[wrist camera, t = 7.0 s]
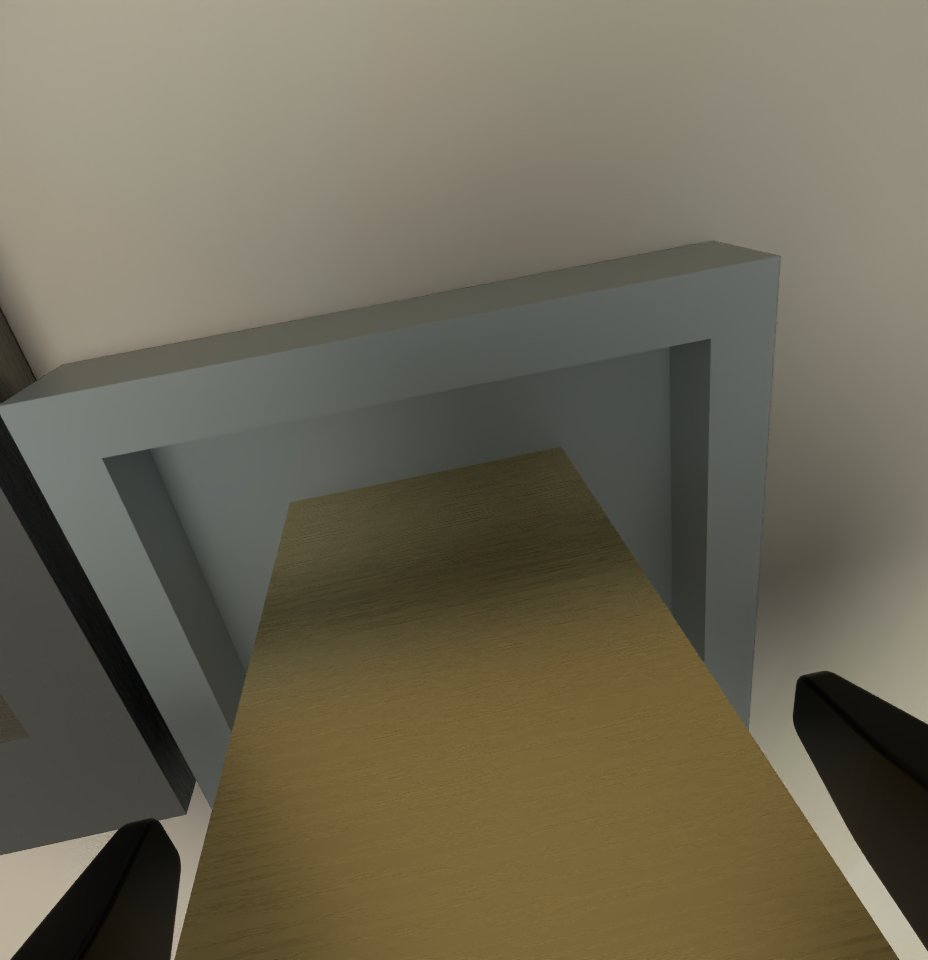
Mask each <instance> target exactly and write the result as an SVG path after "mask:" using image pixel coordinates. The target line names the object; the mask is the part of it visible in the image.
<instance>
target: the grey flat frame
mask: <svg viewBox="0 0 928 960" xmlns="http://www.w3.org/2000/svg"><path fill="white" fill-rule="evenodd" d="M34 382H36V381H35V379H34V377H33V375H32V373H31V371H30V369H29V367H28V365H27V363H26V361H25V359H24V357H23V355H22V353H21V351H20V349H19V347H18V345H17V342H16V340H15V338H14V336H13V334H12V332H11V330H10V328H9V326H8V324H7V322H6V320H5V318H4V316H3V314H2V312H1V310H0V404H1V403H3V402H4V401H6V400H8V399H9V398H11V397H12V396H14V395H15V394H17V393H19V392H20V391H22V390H23V389H25V388H26V387H28V386H29V385H31V384H33V383H34ZM195 783H196V779H195V777H194V775H193V773H192V771H191V769H190V767H189V766H188V764H187V762H186V760H185V758H184V756H183V754H182V752H181V751H180V749H179V747H178V745H177V743H176V741H175V739H174V738H173V736H172V734H171V732H170V730H169V728H168V726H167V724H166V723H165V721H164V719H163V717H162V715H161V713H160V711H159V710H158V708H157V706H156V704H155V702H154V700H153V698H152V697H151V695H150V693H149V691H148V689H147V687H146V685H145V683H144V682H143V680H142V678H141V676H140V674H139V672H138V670H137V669H136V667H135V665H134V663H133V661H132V659H131V657H130V656H129V654H128V652H127V650H126V648H125V646H124V644H123V642H122V641H121V639H120V637H119V635H118V633H117V631H116V629H115V628H114V626H113V624H112V622H111V620H110V618H109V616H108V614H107V613H106V611H105V609H104V607H103V605H102V603H101V601H100V600H99V598H98V596H97V594H96V592H95V590H94V588H93V587H92V585H91V583H90V581H89V579H88V577H87V575H86V573H85V572H84V570H83V568H82V566H81V564H80V562H79V560H78V559H77V557H76V555H75V553H74V551H73V549H72V547H71V545H70V544H69V542H68V540H67V538H66V536H65V534H64V532H63V531H62V529H61V527H60V525H59V523H58V521H57V519H56V518H55V516H54V514H53V512H52V510H51V508H50V506H49V504H48V503H47V501H46V499H45V497H44V495H43V493H42V491H41V490H40V488H39V486H38V484H37V482H36V480H35V478H34V477H33V475H32V473H31V471H30V469H29V467H28V465H27V463H26V462H25V460H24V458H23V456H22V454H21V452H20V450H19V449H18V447H17V445H16V443H15V441H14V439H13V437H12V435H11V434H10V432H9V430H8V428H7V426H6V424H5V422H4V421H3V419H2V417H1V415H0V855H3V854H8V853H13V852H17V851H22V850H26V849H31V848H35V847H40V846H44V845H49V844H54V843H58V842H63V841H67V840H72V839H76V838H81V837H86V836H90V835H95V834H99V833H104V832H108V831H113V830H117V829H120V828H121V827H122V826H124V825H125V824H127V823H130V822H135V821H140V820H144V819H149V818H154V819H156V820H163V819H168V818H172V817H177V816H181V815H186V814H187V810H188V807H189V803H190V800H191V797H192V793H193V790H194V786H195Z"/></svg>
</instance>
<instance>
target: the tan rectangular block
mask: <svg viewBox="0 0 928 960" xmlns="http://www.w3.org/2000/svg"><path fill="white" fill-rule="evenodd" d="M174 960H899V958H898V957H897V955H896V954H895V952H894V951H893V949H892V948H891V946H890V945H889V943H888V942H887V940H886V939H885V937H884V936H883V934H882V933H881V931H880V930H879V928H878V927H877V925H876V924H875V922H874V920H873V919H872V917H871V916H870V914H869V913H868V911H867V910H866V908H865V907H864V905H863V904H862V902H861V901H860V899H859V898H858V896H857V895H856V893H855V892H854V890H853V889H852V887H851V886H850V884H849V883H848V881H847V880H846V878H845V876H844V875H843V873H842V872H841V870H840V869H839V867H838V866H837V864H836V863H835V861H834V860H833V858H832V857H831V855H830V854H829V852H828V851H827V849H826V848H825V846H824V845H823V843H822V842H821V840H820V839H819V837H818V836H817V834H816V832H815V831H814V829H813V828H812V826H811V825H810V823H809V822H808V820H807V819H806V817H805V816H804V814H803V813H802V811H801V810H800V808H799V807H798V805H797V804H796V802H795V801H794V799H793V798H792V796H791V795H790V793H789V792H788V790H787V788H786V787H785V785H784V784H783V782H782V781H781V779H780V778H779V776H778V775H777V773H776V772H775V770H774V769H773V767H772V766H771V764H770V763H769V761H768V760H767V758H766V757H765V755H764V754H763V752H762V751H761V749H760V748H759V746H758V744H757V743H756V741H755V740H754V738H753V737H752V735H751V734H750V732H749V731H748V729H747V728H746V726H745V725H744V723H743V722H742V720H741V719H740V717H739V716H738V714H737V713H736V711H735V710H734V708H733V707H732V705H731V704H730V702H729V700H728V699H727V697H726V696H725V694H724V693H723V691H722V690H721V688H720V687H719V685H718V684H717V682H716V681H715V679H714V678H713V676H712V675H711V673H710V672H709V670H708V669H707V667H706V666H705V664H704V663H703V661H702V660H701V658H700V656H699V655H698V653H697V652H696V650H695V649H694V647H693V646H692V644H691V643H690V641H689V640H688V638H687V637H686V635H685V634H684V632H683V631H682V629H681V628H680V626H679V625H678V623H677V622H676V620H675V619H674V617H673V616H672V614H671V612H670V611H669V609H668V608H667V606H666V605H665V603H664V602H663V600H662V599H661V597H660V596H659V594H658V593H657V591H656V590H655V588H654V587H653V585H652V584H651V582H650V581H649V579H648V578H647V576H646V575H645V573H644V572H643V570H642V568H641V567H640V565H639V564H638V562H637V561H636V559H635V558H634V556H633V555H632V553H631V552H630V550H629V549H628V547H627V546H626V544H625V543H624V541H623V540H622V538H621V537H620V535H619V534H618V532H617V531H616V529H615V528H614V526H613V524H612V523H611V521H610V520H609V518H608V517H607V515H606V514H605V512H604V511H603V509H602V508H601V506H600V505H599V503H598V502H597V500H596V499H595V497H594V496H593V494H592V493H591V491H590V490H589V488H588V487H587V485H586V484H585V482H584V480H583V479H582V477H581V476H580V474H579V473H578V471H577V470H576V468H575V467H574V465H573V464H572V462H571V461H570V459H569V458H568V456H567V455H566V453H565V452H564V450H563V449H562V447H557V448H553V449H548V450H543V451H538V452H533V453H528V454H523V455H519V456H514V457H509V458H504V459H499V460H494V461H489V462H485V463H480V464H475V465H470V466H465V467H460V468H455V469H451V470H446V471H441V472H436V473H431V474H426V475H422V476H417V477H412V478H407V479H402V480H397V481H392V482H388V483H383V484H378V485H373V486H368V487H363V488H358V489H354V490H349V491H344V492H339V493H334V494H329V495H324V496H320V497H315V498H310V499H305V500H300V501H295V502H290V504H289V508H288V512H287V516H286V520H285V524H284V528H283V532H282V536H281V540H280V544H279V548H278V552H277V556H276V560H275V563H274V567H273V571H272V575H271V579H270V583H269V587H268V591H267V595H266V599H265V603H264V607H263V611H262V615H261V619H260V623H259V627H258V631H257V635H256V639H255V643H254V647H253V651H252V655H251V658H250V662H249V666H248V670H247V674H246V678H245V682H244V686H243V690H242V694H241V698H240V702H239V706H238V710H237V714H236V718H235V722H234V726H233V730H232V734H231V738H230V742H229V746H228V750H227V754H226V757H225V761H224V765H223V769H222V773H221V777H220V781H219V785H218V789H217V793H216V797H215V801H214V805H213V809H212V813H211V817H210V821H209V825H208V829H207V833H206V837H205V841H204V845H203V849H202V853H201V856H200V860H199V864H198V868H197V872H196V876H195V880H194V884H193V888H192V892H191V896H190V900H189V904H188V908H187V912H186V916H185V920H184V924H183V928H182V932H181V936H180V940H179V944H178V948H177V952H176V955H175V959H174Z"/></svg>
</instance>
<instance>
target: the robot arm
mask: <svg viewBox="0 0 928 960" xmlns="http://www.w3.org/2000/svg"><path fill="white" fill-rule="evenodd" d="M793 722H794V726H795V729H796V732H797V734H798V736H799V738H800V740H801V742H802V744H803V745H804V747H805V749H806V751H807V753H808V755H809V757H810V759H811V760H812V762H813V764H814V766H815V768H816V770H817V772H818V773H819V775H820V777H821V779H822V781H823V783H824V785H825V787H826V788H827V790H828V792H829V794H830V796H831V798H832V800H833V802H834V803H835V805H836V807H837V809H838V811H839V813H840V815H841V816H842V818H843V820H844V822H845V824H846V826H847V827H848V829H849V831H850V833H851V835H852V836H853V838H854V840H855V842H856V843H857V845H858V846H859V848H860V849H861V851H862V853H863V854H864V856H865V857H866V859H867V860H868V862H869V864H870V865H871V867H872V868H873V870H874V871H875V873H876V874H877V876H878V877H879V879H880V880H881V882H882V883H883V885H884V886H885V888H886V889H887V891H888V892H889V894H890V895H891V897H892V898H893V900H894V901H895V903H896V904H897V906H898V907H899V909H900V910H901V912H902V913H903V915H904V916H905V918H906V919H907V921H908V922H909V924H910V925H911V927H912V928H913V930H914V931H915V933H916V934H917V936H918V937H919V939H920V940H921V942H922V943H923V945H924V946H925V948H926V949H927V951H928V724H926V723H925V722H923V721H921V720H919V719H917V718H915V717H914V716H912V715H910V714H908V713H906V712H904V711H903V710H901V709H899V708H897V707H895V706H893V705H892V704H890V703H888V702H886V701H884V700H882V699H881V698H879V697H877V696H875V695H873V694H871V693H870V692H868V691H866V690H864V689H862V688H860V687H859V686H857V685H855V684H853V683H851V682H849V681H848V680H846V679H844V678H842V677H840V676H838V675H837V674H834V673H832V672H829V671H821V672H816V673H811V674H807V675H803V676H801V677H800V678H799V679H798V680H797V684H796V692H795V701H794V710H793ZM180 873H181V862H180V857H179V854H178V851H177V849H176V848H175V846H174V845H173V843H172V841H171V840H170V838H169V836H168V835H167V833H166V831H165V830H164V828H163V826H162V825H161V823H160V822H159V821H158V820H156V819H154V818H149V819H144V820H140V821H135V822H130V823H127V824H125V825H124V826H122V827H121V828H120V829H119V830H118V831H117V832H116V833H115V834H114V835H113V837H112V838H111V839H110V840H109V841H108V843H107V844H106V845H105V846H104V848H103V849H102V850H101V851H100V852H99V854H98V855H97V856H96V857H95V858H94V860H93V861H92V862H91V863H90V864H89V866H88V867H87V868H86V869H85V870H84V872H83V873H82V874H81V875H80V876H79V878H78V879H77V880H76V881H75V882H74V884H73V885H72V886H71V887H70V888H69V890H68V891H67V892H66V893H65V895H64V896H63V897H62V898H61V899H60V901H59V902H58V903H57V904H56V905H55V907H54V908H53V909H52V910H51V911H50V913H49V914H48V915H47V916H46V917H45V919H44V920H43V921H42V922H41V923H40V925H39V926H38V927H37V928H36V929H35V931H34V932H33V933H32V934H31V936H30V937H29V938H28V939H27V940H26V942H25V943H24V944H23V945H22V946H21V948H20V949H19V950H18V951H17V952H16V954H15V955H14V956H13V957H12V958H11V960H170V959H171V950H172V942H173V933H174V925H175V916H176V907H177V899H178V890H179V882H180Z"/></svg>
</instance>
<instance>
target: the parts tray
mask: <svg viewBox="0 0 928 960" xmlns="http://www.w3.org/2000/svg"><path fill="white" fill-rule="evenodd" d="M780 258H781V256H778V255H774V254H770V253H765V252H761V251H756V250H752V249H747V248H743V247H739V246H734V245H730V244H725V243H721V242H716V241H710V242H705V243H700V244H694V245H689V246H684V247H679V248H673V249H668V250H663V251H658V252H652V253H647V254H642V255H637V256H631V257H626V258H621V259H616V260H610V261H605V262H600V263H595V264H589V265H584V266H579V267H574V268H568V269H563V270H558V271H553V272H547V273H542V274H537V275H532V276H526V277H521V278H516V279H511V280H505V281H500V282H495V283H490V284H484V285H479V286H474V287H469V288H463V289H458V290H453V291H448V292H442V293H437V294H432V295H427V296H421V297H416V298H411V299H406V300H400V301H395V302H390V303H385V304H379V305H374V306H369V307H364V308H358V309H353V310H348V311H343V312H337V313H332V314H327V315H322V316H316V317H311V318H306V319H301V320H295V321H290V322H285V323H280V324H274V325H269V326H264V327H259V328H253V329H248V330H243V331H238V332H232V333H227V334H222V335H217V336H211V337H206V338H201V339H196V340H190V341H185V342H180V343H175V344H169V345H164V346H159V347H154V348H148V349H143V350H138V351H133V352H127V353H122V354H117V355H112V356H106V357H101V358H96V359H91V360H85V361H80V362H75V363H70V364H64V365H61V366H59V367H58V368H56V369H55V370H53V371H51V372H50V373H48V374H47V375H45V376H44V377H42V378H40V379H39V380H37V381H36V382H34V383H33V384H31V385H29V386H28V387H26V388H25V389H23V390H22V391H20V392H19V393H17V394H15V395H14V396H12V397H11V398H9V399H8V400H6V401H4V402H3V403H1V404H0V415H1V417H2V419H3V421H4V422H5V424H6V426H7V428H8V430H9V432H10V434H11V435H12V437H13V439H14V441H15V443H16V445H17V447H18V449H19V450H20V452H21V454H22V456H23V458H24V460H25V462H26V463H27V465H28V467H29V469H30V471H31V473H32V475H33V477H34V478H35V480H36V482H37V484H38V486H39V488H40V490H41V491H42V493H43V495H44V497H45V499H46V501H47V503H48V504H49V506H50V508H51V510H52V512H53V514H54V516H55V518H56V519H57V521H58V523H59V525H60V527H61V529H62V531H63V532H64V534H65V536H66V538H67V540H68V542H69V544H70V545H71V547H72V549H73V551H74V553H75V555H76V557H77V559H78V560H79V562H80V564H81V566H82V568H83V570H84V572H85V573H86V575H87V577H88V579H89V581H90V583H91V585H92V587H93V588H94V590H95V592H96V594H97V596H98V598H99V600H100V601H101V603H102V605H103V607H104V609H105V611H106V613H107V614H108V616H109V618H110V620H111V622H112V624H113V626H114V628H115V629H116V631H117V633H118V635H119V637H120V639H121V641H122V642H123V644H124V646H125V648H126V650H127V652H128V654H129V656H130V657H131V659H132V661H133V663H134V665H135V667H136V669H137V670H138V672H139V674H140V676H141V678H142V680H143V682H144V683H145V685H146V687H147V689H148V691H149V693H150V695H151V697H152V698H153V700H154V702H155V704H156V706H157V708H158V710H159V711H160V713H161V715H162V717H163V719H164V721H165V723H166V724H167V726H168V728H169V730H170V732H171V734H172V736H173V738H174V739H175V741H176V743H177V745H178V747H179V749H180V751H181V752H182V754H183V756H184V758H185V760H186V762H187V764H188V766H189V767H190V769H191V771H192V773H193V775H194V777H195V779H196V780H197V782H198V784H199V786H200V788H201V790H202V792H203V793H204V795H205V797H206V799H207V801H208V803H209V805H210V807H211V808H212V809H213V805H214V801H215V797H216V793H217V789H218V785H219V781H220V777H221V773H222V769H223V765H224V761H225V757H226V754H227V750H228V746H229V742H230V738H231V734H232V730H233V726H234V722H235V718H236V714H237V710H238V706H239V702H240V698H241V694H242V690H243V686H244V682H245V678H246V674H247V670H248V666H249V662H250V658H251V655H252V651H253V647H254V643H255V639H256V635H257V631H258V627H259V623H260V619H261V615H262V611H263V607H264V603H265V599H266V595H267V591H268V587H269V583H270V579H271V575H272V571H273V567H274V563H275V560H276V556H277V552H278V548H279V544H280V540H281V536H282V532H283V528H284V524H285V520H286V516H287V512H288V508H289V504H290V502H295V501H300V500H305V499H310V498H315V497H320V496H324V495H329V494H334V493H339V492H344V491H349V490H354V489H358V488H363V487H368V486H373V485H378V484H383V483H388V482H392V481H397V480H402V479H407V478H412V477H417V476H422V475H426V474H431V473H436V472H441V471H446V470H451V469H455V468H460V467H465V466H470V465H475V464H480V463H485V462H489V461H494V460H499V459H504V458H509V457H514V456H519V455H523V454H528V453H533V452H538V451H543V450H548V449H553V448H557V447H562V449H563V450H564V452H565V453H566V455H567V456H568V458H569V459H570V461H571V462H572V464H573V465H574V467H575V468H576V470H577V471H578V473H579V474H580V476H581V477H582V479H583V480H584V482H585V484H586V485H587V487H588V488H589V490H590V491H591V493H592V494H593V496H594V497H595V499H596V500H597V502H598V503H599V505H600V506H601V508H602V509H603V511H604V512H605V514H606V515H607V517H608V518H609V520H610V521H611V523H612V524H613V526H614V528H615V529H616V531H617V532H618V534H619V535H620V537H621V538H622V540H623V541H624V543H625V544H626V546H627V547H628V549H629V550H630V552H631V553H632V555H633V556H634V558H635V559H636V561H637V562H638V564H639V565H640V567H641V568H642V570H643V572H644V573H645V575H646V576H647V578H648V579H649V581H650V582H651V584H652V585H653V587H654V588H655V590H656V591H657V593H658V594H659V596H660V597H661V599H662V600H663V602H664V603H665V605H666V606H667V608H668V609H669V611H670V612H671V614H672V616H673V617H674V619H675V620H676V622H677V623H678V625H679V626H680V628H681V629H682V631H683V632H684V634H685V635H686V637H687V638H688V640H689V641H690V643H691V644H692V646H693V647H694V649H695V650H696V652H697V653H698V655H699V656H700V658H701V660H702V661H703V663H704V664H705V666H706V667H707V669H708V670H709V672H710V673H711V675H712V676H713V678H714V679H715V681H716V682H717V684H718V685H719V687H720V688H721V690H722V691H723V693H724V694H725V696H726V697H727V699H728V700H729V702H730V704H731V705H732V707H733V708H734V710H735V711H736V713H737V714H738V716H739V717H740V719H741V720H742V722H743V723H744V725H745V726H746V728H747V729H748V731H749V716H750V702H751V687H752V672H753V657H754V643H755V628H756V613H757V598H758V583H759V569H760V554H761V539H762V524H763V509H764V495H765V480H766V465H767V450H768V436H769V421H770V406H771V391H772V376H773V362H774V347H775V332H776V317H777V302H778V288H779V273H780Z"/></svg>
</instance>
